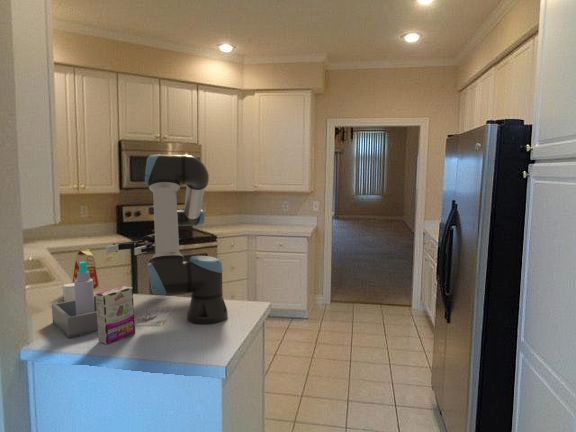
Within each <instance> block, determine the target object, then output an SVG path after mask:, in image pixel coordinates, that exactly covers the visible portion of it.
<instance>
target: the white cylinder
mask: <svg viewBox="0 0 576 432" xmlns="http://www.w3.org/2000/svg"><path fill="white" fill-rule="evenodd" d="M61 289H62V295H63V300H64V301H63V302H66V301H71V300H75V286H74V283H72V282H70V283H64V284H63V285H61Z"/></svg>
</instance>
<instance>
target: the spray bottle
mask: <svg viewBox="0 0 576 432" xmlns="http://www.w3.org/2000/svg"><path fill="white" fill-rule="evenodd" d="M74 286H75V304H76V315H81V314H86V313H90V312H95V311H94V295H95V294H94V293H95V292H94V291H95V290H94V291H93V279H90V275H89V271H87V262H79V272H77V280H76V281H74Z"/></svg>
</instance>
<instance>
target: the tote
mask: <svg viewBox="0 0 576 432" xmlns="http://www.w3.org/2000/svg"><path fill="white" fill-rule="evenodd" d="M94 311H95V312H90V313H86V314H81V315H76V304H75V300H71V301H66V302H65V301H62V302H57V303H51V313H52V314H51V315H52V323H53V324H54V325H55V327H57V328H58V330H59V331H60V332H61V333H62V334H63V335H64V336H65V337H67V339H69V340H70V339H74V338H78V337H81V336H83V337H84V336H86V335H90V334H91V335H92V334H94V333H98V324H97V310H96V295H95V296H94Z"/></svg>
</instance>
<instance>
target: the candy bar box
mask: <svg viewBox="0 0 576 432" xmlns="http://www.w3.org/2000/svg"><path fill="white" fill-rule="evenodd" d="M94 295H95V296H96V310H97V324H98V332H97V335H98V336H97V337H98V342H99V343H101V344H104V345H110V344H113V343H115V342H118V341H120V340H122V339H125V338H128V337H130V336H132V335H135V334H136V325H135V324H136V323H135V305H134V288H133V287H132V286H127V285H123V286H118V287H115V288H112V289H111V288H110V289H107V290H104V291H101V292H97V293H95V294H94Z"/></svg>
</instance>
